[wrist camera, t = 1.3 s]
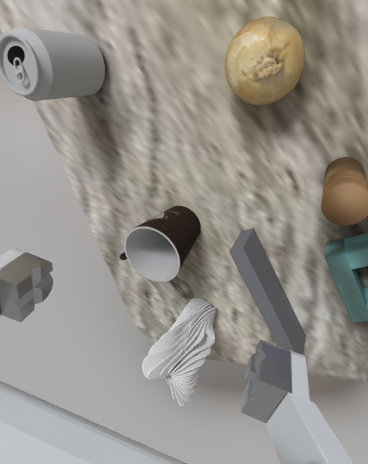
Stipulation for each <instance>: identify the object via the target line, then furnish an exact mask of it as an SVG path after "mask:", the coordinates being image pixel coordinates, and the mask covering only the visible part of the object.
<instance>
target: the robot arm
mask: <svg viewBox="0 0 368 464" xmlns="http://www.w3.org/2000/svg"><path fill="white" fill-rule="evenodd" d="M52 270H53V268H52V263H51V262H49V261H47V260H44V259H42V258H40V257H37V256H35V255H32V254H30V253H26V252H24V251H22V250H19V249H11V250H10V251H8V252H6V253H5V254H4V255H2V256H0V315H3V316H6V317H8V318H11V319H14V320H17V321H19V322H22V321H23V320H24V319H25V318H26V317H27V316H28V315H29V314H30V313H31V312H32V311H33V310H34V306H35V304H37V303H40V302H42V301H44V300H45V299H46V298H47V296H48V295H49V293H50V291H51V290H52V286H53V278H52V277H51V275H50V272H51V271H52ZM245 383H246V385H247V387H246V389H245V391H244V393H243V399H242V408H241V412H242V413H244V414H246V415H249V416H251V417H253V418H256V419H258V420H260V421H262V422H265V423H266V427H267V429H268V432H269V434H270V437H271V440H272V442H273V445H274V448H275V450H276V453H277V455H278V458H279V461H280V463H281V464H353V463H352V461H351V459H350V458H349V456H348V455H347V453H346V452H345V450H344V448H343V447H342V445H341V444H340V442H339V440H338V439H337V437H336V436H335V434H334V433H333V431H332V429H331V428H330V426H329V425H328V423H327V421H326V420H325V418H324V417H323V415H322V414H321V412H320V411H319V409H318V407H317V406H316V404H315V403H314V402H311V401H310V394H309V385H308V374H307V364H306V358H305V356H304V355H302V354H299V353H296V352H293V351H291V350H288V349H285V348H282V347H280V346H277V345H274V344H271V343H268V342H266V341H263V340H260V341H259V342H258V344H257V346H256V353H255V354H252V356H251V358H250V360H249V362H248V365H247V369H246V374H245ZM0 464H186V463H184V462H182V461H179V460H177V459H175V458H173V457H171V456H168V455H166V454H164V453H162V452H159V451H157V450H155V449H153V448H150V447H148V446H146V445H144V444H141V443H139V442H137V441H135V440H132V439H130V438H128V437H125V436H123V435H121V434H119V433H117V432H114V431H112V430H110V429H108V428H106V427H103V426H101V425H99V424H96V423H94V422H92V421H90V420H88V419H85V418H83V417H81V416H78V415H76V414H74V413H71V412H69V411H67V410H65V409H63V408H60V407H58V406H56V405H54V404H51V403H49V402H47V401H45V400H42V399H40V398H38V397H36V396H33V395H31V394H29V393H26V392H24V391H22V390H20V389H18V388H15V387H13V386H11V385H8V384H6V383H4V382H2V381H0Z"/></svg>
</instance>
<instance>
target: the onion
mask: <svg viewBox="0 0 368 464" xmlns="http://www.w3.org/2000/svg"><path fill="white" fill-rule="evenodd" d="M304 64H305V49H304V44H303V41H302V38H301V36H300V34H299V33H298V31H297V30H296V29H295V28H294V27H293V26H292V25H290V24H289V23H288V22H286V21H284V20H281V19H278V18H275V17H261V18H258V19H256V20H253V21H251V22H250V23H248V24H247V25H245V26H244V27H243V28H242V29H241V30H240V31H239V32H238V33H237V34H236V35H235V36H234V38H233V39H232V41H231V43H230V45H229V48H228V51H227V54H226V59H225V72H226V78H227V81H228V84H229V86H230V88H231V89H232V91H233V92H234V93H235V94H236V95H237V96H238V97H239V98H241V99H242V100H243V101H245V102H247V103H250V104H253V105H265V104H270V103H274V102H276V101H278V100H280V99H281V98H283V97H284V96H285V95H287V94H288V93H289V92H290V91H292V90H293V89H294V87H295V86H296V84H297V83H298V81H299V79H300V77H301V74H302V72H303V69H304Z"/></svg>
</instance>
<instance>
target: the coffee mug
mask: <svg viewBox="0 0 368 464" xmlns="http://www.w3.org/2000/svg"><path fill="white" fill-rule="evenodd" d="M200 227H201V226H200V222H199V219H198V217H197V216H196V214H195V213H194V212H193V211H192V210H190V209H188V208H186V207H183V206H174V207H172V208H170V209H168V210H166V211H165V212H163V213H161V214H159V215H157V216H155V217H154V218H152V219H150V220H148V221H146V222H144V223H143V224H141V225H139V226H137V227H135V228H134V229H132V230H131V231H129V232H128V234H127V235H126V238H125V240H124V251H125V252H124V253H122V254H121V255H120V259H121V260H126V259H128V261H129V263H130V264H131V266H132V267H133V268H134V269H135V270H136V271H137V272H138V273H139V274H140V275H142V276H143V277H145V278H147V279H149V280H151V281H155V282H166V281H170V280H171V279H173V278H174V277H175V276H176V275H177V273H178V271H179V270H180V268H181V266H182V264H183V262H184V261H185V259H186V257H187V255H188V253H189V252H190V250H191V248H192V246H193V244H194V242H195V241H196V239H197V237H198V235H199V233H200ZM125 255H126V256H125Z"/></svg>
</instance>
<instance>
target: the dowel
mask: <svg viewBox="0 0 368 464" xmlns="http://www.w3.org/2000/svg"><path fill="white" fill-rule="evenodd" d="M321 208H322V212H323V214H324V216H325V217H326V218H327V219H328V220H329V221H331V222H332V223H334V224H337V225H343V226H347V225H353V224H356V223H359V222H360V221H362V220H363V219H365V218H366V217H367V215H368V185H367V182H366V178H365V174H364V170H363V167H362V165H361V163H360V162H359V161H357V160H356V159H353V158H349V157H343V158H339V159H336V160H335V161H333V162H332V163H331V164H330V165H329V166H328V167H327V169H326V172H325V179H324V188H323V196H322V204H321Z"/></svg>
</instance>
